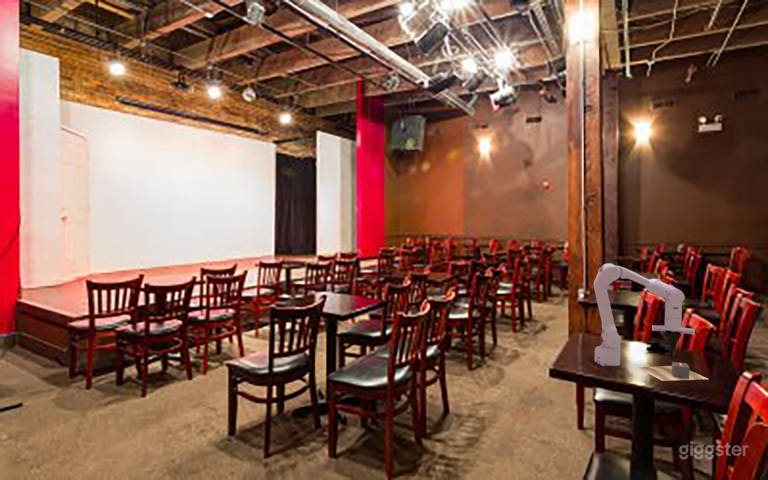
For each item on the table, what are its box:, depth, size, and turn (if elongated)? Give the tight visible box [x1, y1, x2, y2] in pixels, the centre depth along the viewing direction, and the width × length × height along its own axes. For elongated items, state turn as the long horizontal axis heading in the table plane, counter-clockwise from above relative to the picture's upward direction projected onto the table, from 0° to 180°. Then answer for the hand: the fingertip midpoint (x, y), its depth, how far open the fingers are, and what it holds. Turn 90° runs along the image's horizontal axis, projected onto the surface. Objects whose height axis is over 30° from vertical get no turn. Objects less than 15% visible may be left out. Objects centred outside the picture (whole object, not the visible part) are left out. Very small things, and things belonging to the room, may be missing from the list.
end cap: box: [646, 337, 678, 358], centre depth 200 cm, size 10×7×7 cm
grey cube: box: [671, 361, 691, 379], centre depth 170 cm, size 5×5×5 cm
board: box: [636, 365, 709, 382], centre depth 173 cm, size 19×15×2 cm
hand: (672, 349), depth 178 cm, fingers closed
